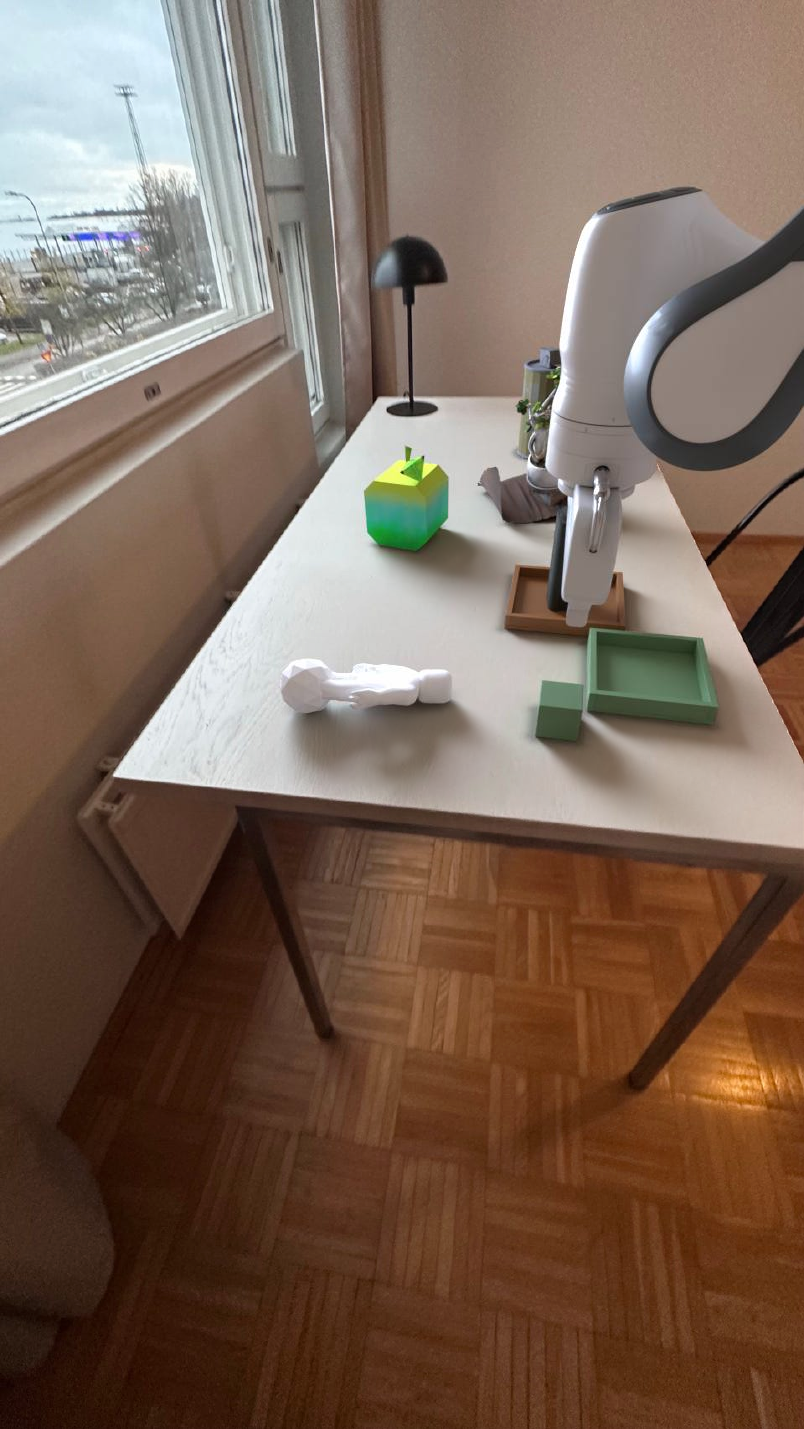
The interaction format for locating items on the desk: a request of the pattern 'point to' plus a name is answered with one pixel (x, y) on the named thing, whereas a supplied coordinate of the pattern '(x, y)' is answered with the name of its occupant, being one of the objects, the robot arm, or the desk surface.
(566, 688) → the green block
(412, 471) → the low-poly cube fruit
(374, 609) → the desk surface
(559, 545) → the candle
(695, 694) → the green tray
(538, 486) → the potted plant
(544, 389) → the canister
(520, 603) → the wood tray
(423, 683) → the figure
